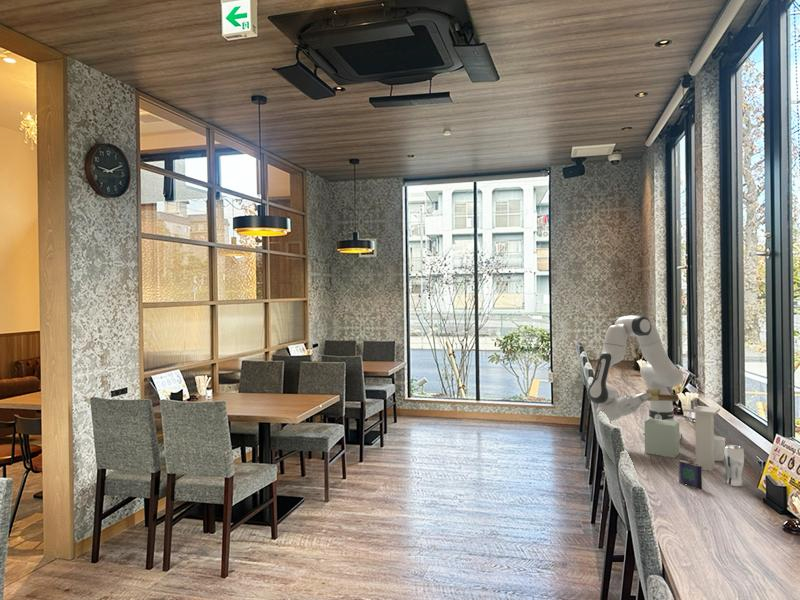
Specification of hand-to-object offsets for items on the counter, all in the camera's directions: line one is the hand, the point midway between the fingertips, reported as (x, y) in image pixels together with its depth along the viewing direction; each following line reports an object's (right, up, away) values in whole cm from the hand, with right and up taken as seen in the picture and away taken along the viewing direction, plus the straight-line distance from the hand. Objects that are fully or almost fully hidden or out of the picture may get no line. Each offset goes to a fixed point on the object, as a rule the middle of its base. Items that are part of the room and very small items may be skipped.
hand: (653, 393), depth 255 cm
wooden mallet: (+3, -3, -3) cm, 5 cm away
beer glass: (+10, -28, -46) cm, 55 cm away
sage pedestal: (+3, -28, -2) cm, 29 cm away
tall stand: (+9, -28, -25) cm, 39 cm away
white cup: (+23, -28, -13) cm, 38 cm away
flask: (-8, -28, -47) cm, 55 cm away
